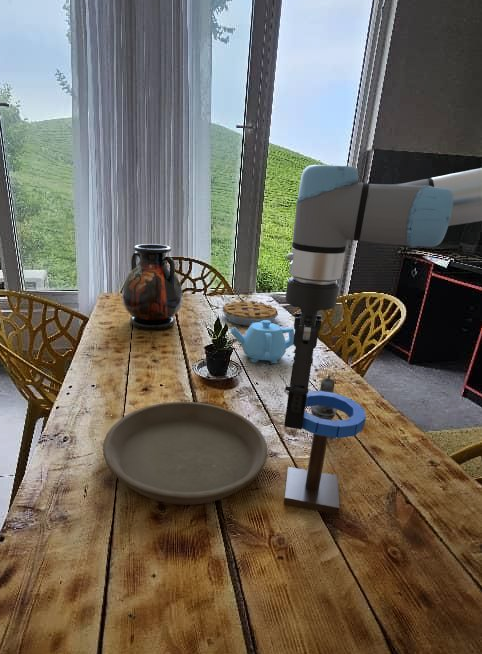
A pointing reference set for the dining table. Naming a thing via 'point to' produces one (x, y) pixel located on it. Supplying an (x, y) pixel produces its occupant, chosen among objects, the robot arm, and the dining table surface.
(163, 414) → the plant saucer
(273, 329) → the teapot
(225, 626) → the dining table surface
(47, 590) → the dining table surface
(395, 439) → the dining table surface
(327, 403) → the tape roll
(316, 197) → the robot arm
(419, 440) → the dining table surface
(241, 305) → the pie
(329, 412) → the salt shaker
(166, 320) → the amphora vase
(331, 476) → the peg stand
